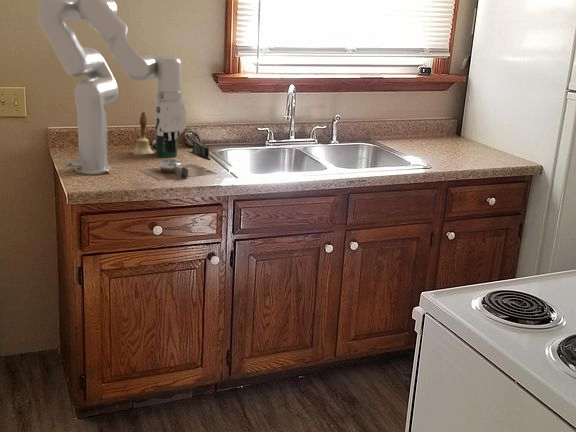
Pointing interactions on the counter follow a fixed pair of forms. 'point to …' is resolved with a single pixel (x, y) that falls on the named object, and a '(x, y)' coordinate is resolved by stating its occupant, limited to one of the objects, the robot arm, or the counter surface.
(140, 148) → the hand bell
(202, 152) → the dark green box
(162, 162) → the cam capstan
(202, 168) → the level board
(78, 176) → the counter surface
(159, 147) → the coffee jar
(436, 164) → the counter surface
